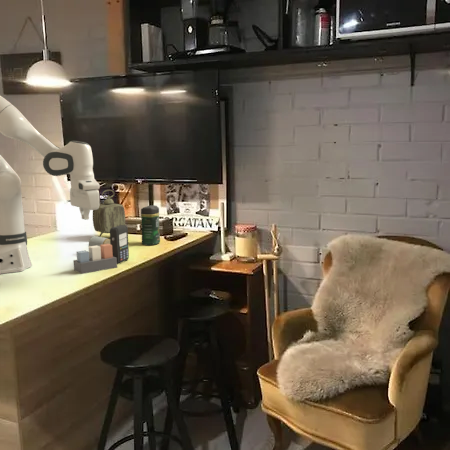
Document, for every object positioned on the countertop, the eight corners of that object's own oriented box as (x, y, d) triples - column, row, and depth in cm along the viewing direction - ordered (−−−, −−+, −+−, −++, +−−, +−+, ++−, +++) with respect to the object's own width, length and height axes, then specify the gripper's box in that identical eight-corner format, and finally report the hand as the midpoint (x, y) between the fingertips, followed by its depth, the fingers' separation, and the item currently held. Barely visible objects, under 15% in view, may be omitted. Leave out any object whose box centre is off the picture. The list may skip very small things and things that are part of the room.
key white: (93, 262, 217) (92, 248, 216) (89, 260, 220) (88, 246, 219) (101, 261, 219) (100, 246, 218) (97, 259, 222) (96, 245, 221)
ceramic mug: (103, 255, 243) (103, 238, 242) (88, 254, 246) (87, 237, 245) (117, 251, 253) (116, 234, 251) (102, 250, 256) (101, 233, 255)
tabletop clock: (118, 235, 289) (116, 187, 285) (128, 237, 283) (125, 189, 278) (93, 239, 280) (90, 190, 275) (103, 242, 273) (100, 191, 269)
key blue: (81, 267, 214) (80, 253, 213) (77, 266, 217) (76, 251, 216) (89, 266, 217) (88, 251, 216) (85, 264, 219) (85, 250, 218)
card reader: (118, 264, 226) (117, 228, 224) (110, 264, 228) (108, 228, 225) (130, 259, 235) (128, 224, 232) (121, 259, 236) (120, 224, 234)
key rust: (104, 260, 220) (104, 246, 219) (101, 258, 223) (100, 244, 222) (112, 259, 222) (112, 244, 221) (108, 257, 225) (108, 243, 224)
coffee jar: (155, 246, 261) (154, 207, 258) (139, 245, 263) (138, 206, 260) (162, 242, 271) (161, 204, 268) (147, 241, 272) (145, 204, 269)
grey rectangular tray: (81, 273, 213) (81, 263, 212) (74, 270, 219) (73, 260, 218) (117, 267, 222) (116, 257, 221) (108, 264, 228) (108, 254, 227)
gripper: (64, 182, 219) (67, 217, 221) (85, 186, 202) (88, 223, 205) (80, 181, 222) (82, 215, 225) (101, 184, 206) (103, 221, 208)
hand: (85, 219), depth 215 cm, fingers closed
